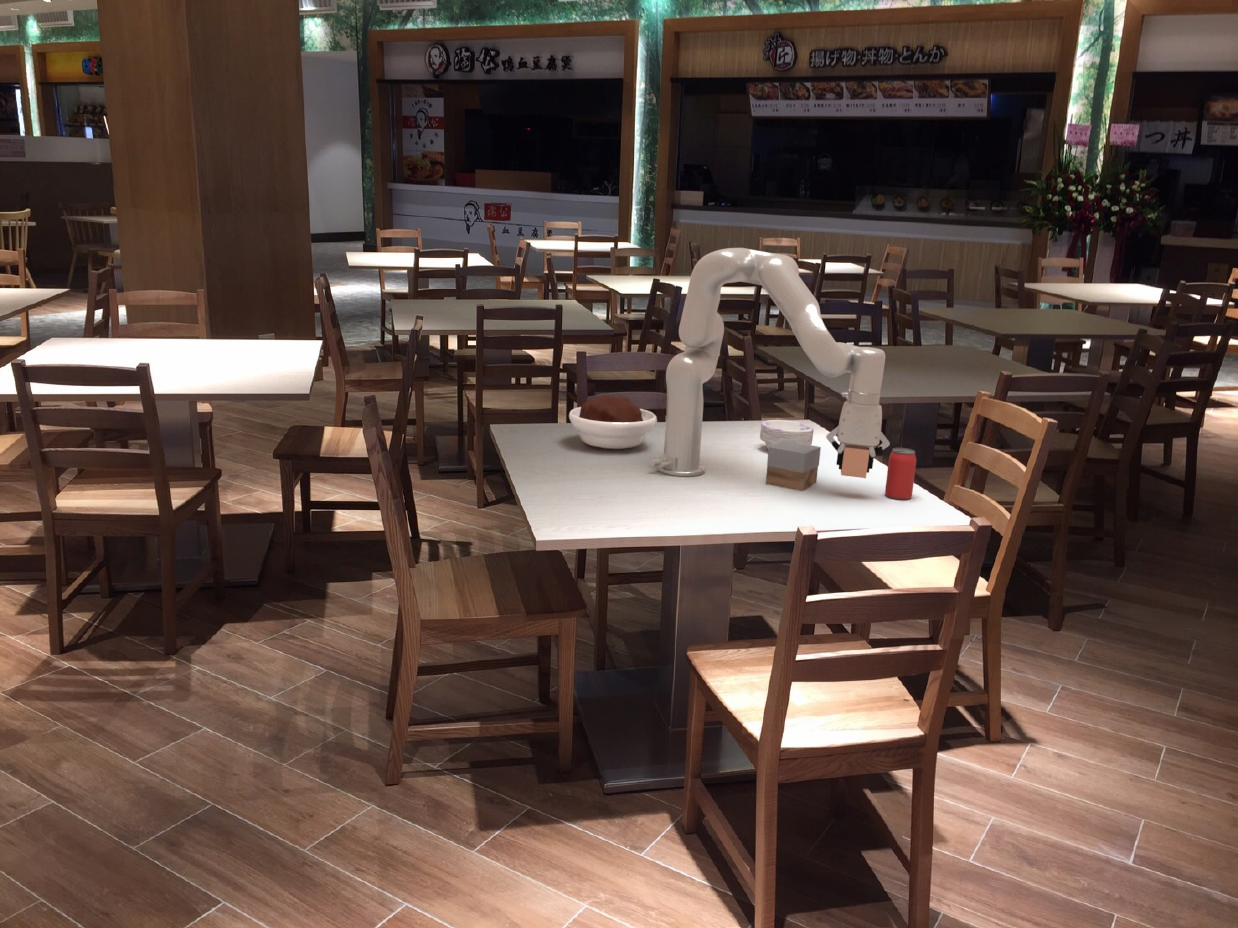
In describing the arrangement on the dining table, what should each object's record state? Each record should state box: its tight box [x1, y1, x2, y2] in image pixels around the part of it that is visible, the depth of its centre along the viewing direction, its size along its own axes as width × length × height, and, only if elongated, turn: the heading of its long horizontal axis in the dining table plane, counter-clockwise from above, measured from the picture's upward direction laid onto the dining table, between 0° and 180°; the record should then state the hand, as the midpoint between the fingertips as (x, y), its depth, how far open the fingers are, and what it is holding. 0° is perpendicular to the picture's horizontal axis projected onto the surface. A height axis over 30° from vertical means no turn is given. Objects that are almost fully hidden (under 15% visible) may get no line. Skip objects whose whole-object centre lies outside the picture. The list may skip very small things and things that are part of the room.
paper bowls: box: [759, 419, 815, 450], centre depth 299 cm, size 15×15×8 cm
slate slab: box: [766, 441, 822, 473], centre depth 263 cm, size 10×10×5 cm
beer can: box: [884, 447, 917, 501], centre depth 256 cm, size 7×7×12 cm
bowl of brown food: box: [568, 394, 657, 450], centre depth 294 cm, size 25×25×15 cm
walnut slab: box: [765, 465, 819, 492], centre depth 264 cm, size 10×10×5 cm
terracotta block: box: [840, 444, 870, 479], centre depth 254 cm, size 6×6×7 cm
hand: (853, 469), depth 254 cm, fingers closed on terracotta block, 6 cm apart
